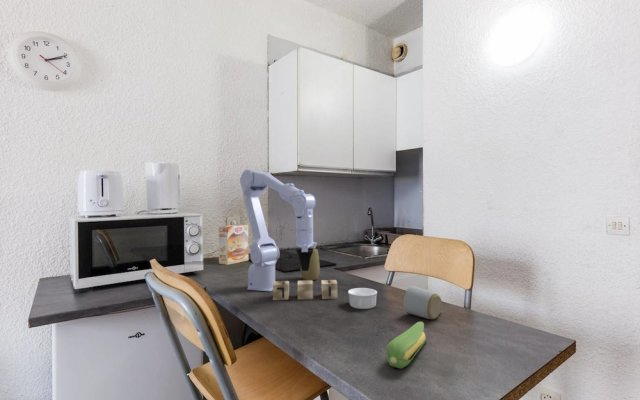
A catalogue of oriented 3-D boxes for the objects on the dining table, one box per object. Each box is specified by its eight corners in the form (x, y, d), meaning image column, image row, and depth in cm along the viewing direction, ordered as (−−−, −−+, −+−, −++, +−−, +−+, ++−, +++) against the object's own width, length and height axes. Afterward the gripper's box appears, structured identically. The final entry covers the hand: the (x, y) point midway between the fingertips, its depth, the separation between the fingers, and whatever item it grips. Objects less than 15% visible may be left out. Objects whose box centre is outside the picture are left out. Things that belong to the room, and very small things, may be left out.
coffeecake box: (227, 265, 169) (227, 226, 169) (218, 263, 173) (217, 225, 173) (249, 260, 182) (248, 224, 182) (239, 259, 186) (239, 223, 186)
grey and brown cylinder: (429, 323, 87) (429, 294, 87) (402, 315, 93) (402, 288, 93) (449, 314, 94) (449, 287, 94) (423, 307, 100) (423, 282, 100)
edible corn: (377, 346, 65) (399, 345, 62) (413, 319, 81) (431, 316, 79) (384, 374, 64) (407, 374, 61) (419, 341, 80) (437, 339, 78)
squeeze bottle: (320, 281, 133) (319, 236, 133) (299, 281, 133) (299, 236, 133) (320, 276, 141) (319, 234, 141) (301, 276, 141) (300, 234, 141)
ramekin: (342, 305, 103) (342, 291, 103) (359, 299, 109) (359, 286, 109) (366, 312, 97) (366, 297, 97) (382, 305, 103) (382, 290, 103)
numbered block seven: (272, 300, 109) (272, 284, 109) (274, 295, 114) (274, 280, 114) (288, 300, 109) (288, 284, 109) (289, 295, 114) (288, 280, 114)
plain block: (297, 299, 110) (297, 284, 110) (298, 295, 115) (297, 280, 115) (313, 299, 110) (312, 284, 110) (312, 295, 115) (312, 280, 115)
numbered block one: (322, 299, 110) (322, 283, 110) (321, 294, 115) (321, 279, 115) (337, 298, 110) (337, 283, 110) (336, 294, 115) (335, 279, 115)
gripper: (317, 231, 105) (317, 274, 105) (315, 227, 120) (316, 265, 120) (294, 232, 105) (295, 275, 105) (296, 228, 119) (296, 266, 119)
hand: (305, 270), depth 112 cm, fingers closed
